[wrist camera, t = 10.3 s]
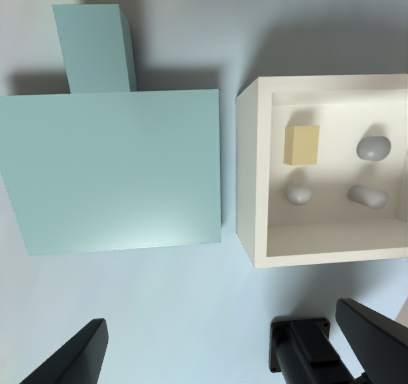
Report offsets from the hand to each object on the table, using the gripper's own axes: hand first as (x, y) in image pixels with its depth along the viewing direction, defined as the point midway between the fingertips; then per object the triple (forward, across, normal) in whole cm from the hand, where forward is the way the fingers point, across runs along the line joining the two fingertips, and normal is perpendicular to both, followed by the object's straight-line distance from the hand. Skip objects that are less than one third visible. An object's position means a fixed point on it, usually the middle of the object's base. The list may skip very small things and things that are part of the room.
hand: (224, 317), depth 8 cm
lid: (+12, +7, -7) cm, 16 cm away
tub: (+12, -11, -4) cm, 17 cm away
